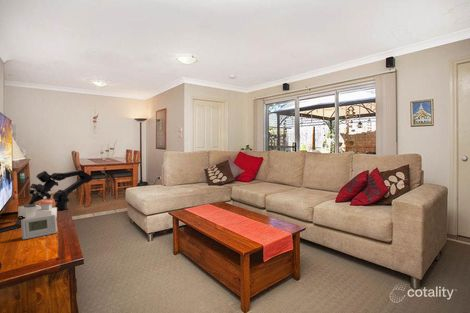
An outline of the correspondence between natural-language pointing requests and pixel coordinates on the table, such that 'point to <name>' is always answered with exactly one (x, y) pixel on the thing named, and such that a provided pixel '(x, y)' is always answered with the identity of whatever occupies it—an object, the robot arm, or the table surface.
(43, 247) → the table surface
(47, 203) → the red plug
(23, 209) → the socket
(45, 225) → the digital clock
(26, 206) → the plug
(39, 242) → the table surface
